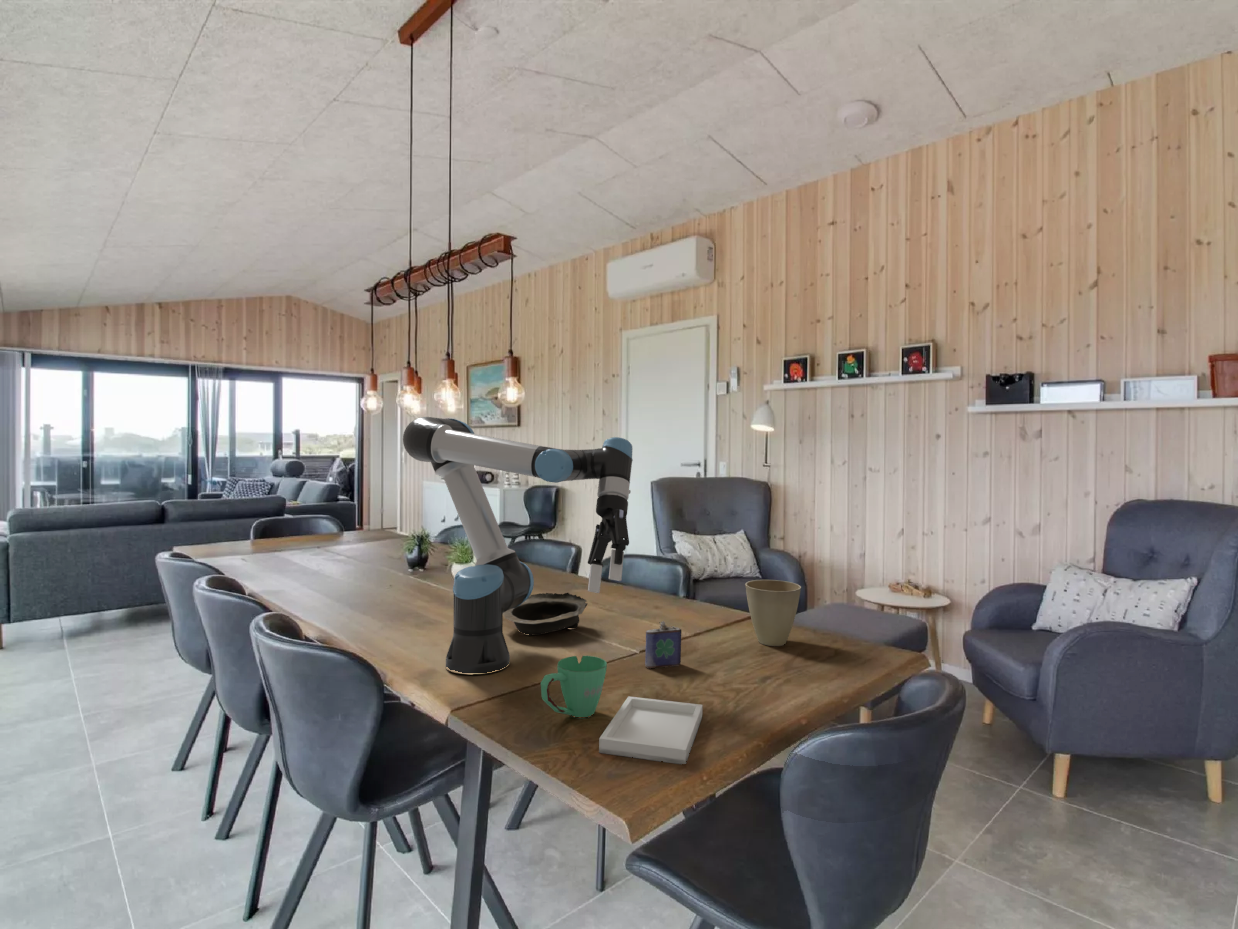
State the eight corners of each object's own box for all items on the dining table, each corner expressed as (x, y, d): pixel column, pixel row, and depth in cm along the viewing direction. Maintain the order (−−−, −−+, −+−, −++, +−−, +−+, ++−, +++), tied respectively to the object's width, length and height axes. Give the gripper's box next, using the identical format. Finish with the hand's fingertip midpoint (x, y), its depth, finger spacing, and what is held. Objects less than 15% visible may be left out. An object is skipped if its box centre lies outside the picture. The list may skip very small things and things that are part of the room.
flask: (647, 669, 153) (647, 624, 153) (643, 665, 156) (643, 621, 156) (682, 666, 156) (683, 622, 156) (677, 662, 159) (678, 619, 159)
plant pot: (733, 638, 179) (734, 582, 179) (774, 632, 186) (775, 578, 186) (769, 653, 166) (769, 592, 166) (811, 646, 173) (812, 587, 173)
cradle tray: (599, 752, 110) (599, 738, 110) (628, 708, 129) (628, 696, 129) (685, 764, 106) (685, 749, 106) (702, 717, 125) (702, 704, 125)
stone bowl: (592, 620, 197) (593, 590, 196) (579, 651, 172) (580, 617, 172) (514, 616, 200) (514, 587, 199) (490, 646, 175) (490, 613, 174)
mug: (584, 699, 134) (584, 652, 133) (616, 714, 126) (617, 663, 126) (526, 719, 123) (527, 668, 123) (558, 736, 116) (558, 681, 116)
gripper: (648, 485, 144) (641, 577, 135) (608, 517, 165) (600, 599, 156) (617, 477, 141) (608, 570, 132) (581, 511, 163) (571, 593, 154)
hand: (603, 586), depth 144 cm, fingers open, 13 cm apart
